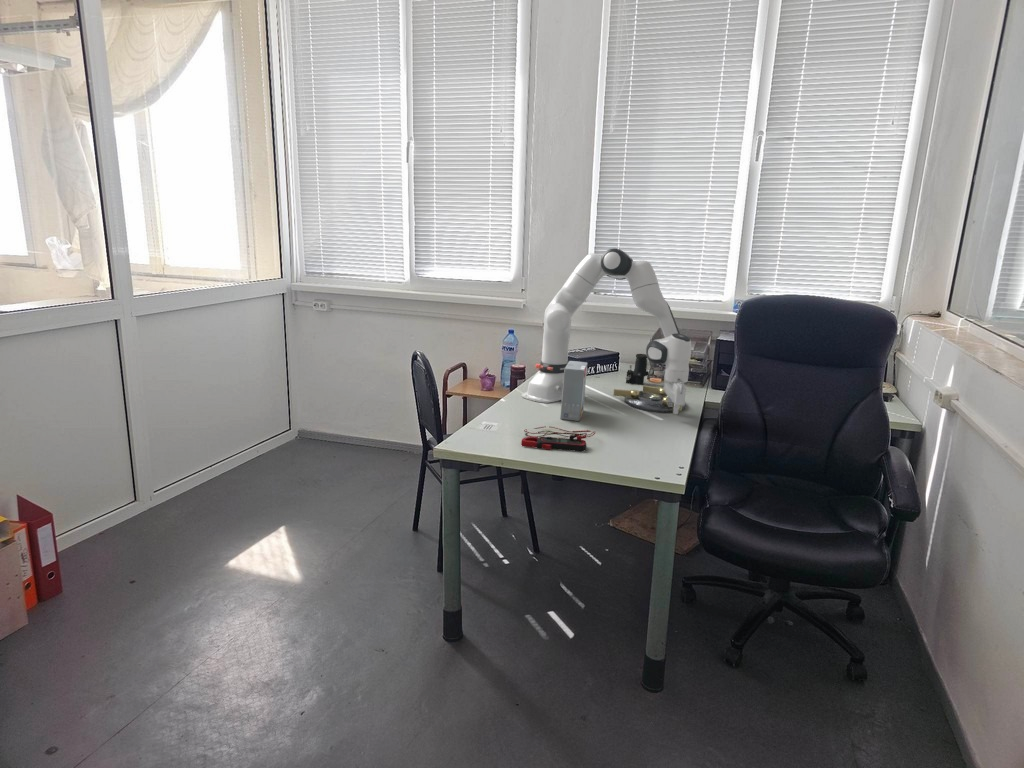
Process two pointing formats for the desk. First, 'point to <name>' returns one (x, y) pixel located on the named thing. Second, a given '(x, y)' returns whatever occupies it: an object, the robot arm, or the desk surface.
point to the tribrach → (649, 403)
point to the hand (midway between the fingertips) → (672, 410)
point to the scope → (638, 370)
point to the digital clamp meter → (557, 441)
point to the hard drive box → (573, 390)
